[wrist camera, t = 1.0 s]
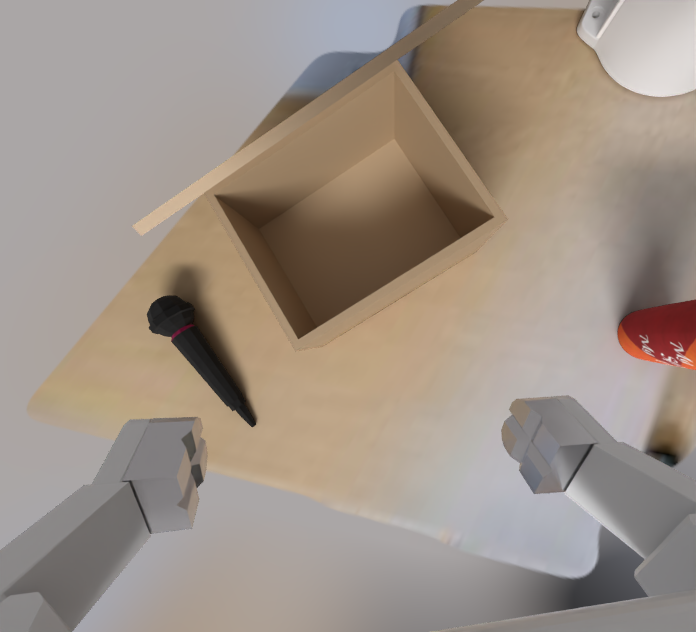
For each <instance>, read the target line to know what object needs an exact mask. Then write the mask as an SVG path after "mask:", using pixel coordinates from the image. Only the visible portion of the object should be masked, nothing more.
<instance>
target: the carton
mask: <svg viewBox="0 0 696 632" xmlns="http://www.w3.org/2000/svg"><path fill="white" fill-rule="evenodd" d="M204 194H205V196H206V198H207V200H208V201H209V203H210V205H211V207H212V208H213V210H214V212H215V213H216V215H217V217H218V219H219V220H220V222H221V224H222V226H223V227H224V229H225V231H226V232H227V234H228V236H229V238H230V239H231V241H232V243H233V245H234V246H235V248H236V250H237V251H238V253H239V255H240V257H241V258H242V260H243V262H244V264H245V265H246V267H247V269H248V270H249V272H250V274H251V276H252V277H253V279H254V281H255V283H256V284H257V286H258V288H259V289H260V291H261V293H262V295H263V296H264V298H265V300H266V302H267V303H268V305H269V307H270V308H271V310H272V312H273V314H274V315H275V317H276V319H277V321H278V322H279V324H280V326H281V327H282V329H283V331H284V333H285V334H286V336H287V338H288V340H289V341H290V343H291V345H292V346H293V348H294V350H295V351H301V350H306V349H312V348H317V347H323V346H324V345H326V344H327V343H329V342H331V341H332V340H334V339H336V338H337V337H339V336H340V335H342V334H344V333H345V332H347V331H348V330H350V329H352V328H353V327H355V326H357V325H358V324H360V323H361V322H363V321H365V320H366V319H368V318H370V317H371V316H373V315H374V314H376V313H378V312H379V311H381V310H383V309H384V308H386V307H387V306H389V305H391V304H392V303H394V302H396V301H397V300H399V299H400V298H402V297H404V296H405V295H407V294H409V293H410V292H412V291H413V290H415V289H417V288H418V287H420V286H422V285H423V284H425V283H426V282H428V281H430V280H431V279H433V278H434V277H436V276H438V275H439V274H441V273H443V272H444V271H446V270H447V269H449V268H451V267H452V266H454V265H456V264H457V263H459V262H460V261H462V260H464V259H465V258H467V257H469V256H470V255H472V254H473V253H475V252H476V251H477V250H478V249H479V248H480V247H481V246H482V245H483V244H484V243H485V242H486V241H487V240H488V239H489V238H490V237H491V236H492V235H493V234H494V233H495V232H496V231H497V230H498V229H499V228H500V227H501V226H502V225H503V224H504V223H505V222H506V221H507V220H508V218H507V217H506V215H505V214H504V213H503V211H502V210H501V208H500V207H499V205H498V204H497V202H496V201H495V200H494V198H493V197H492V195H491V194H490V192H489V191H488V189H487V188H486V187H485V185H484V184H483V182H482V181H481V179H480V178H479V177H478V175H477V174H476V172H475V171H474V169H473V168H472V166H471V165H470V164H469V162H468V161H467V159H466V158H465V156H464V155H463V153H462V152H461V151H460V149H459V148H458V146H457V145H456V143H455V142H454V141H453V139H452V138H451V136H450V135H449V133H448V132H447V130H446V129H445V128H444V126H443V125H442V123H441V122H440V120H439V119H438V117H437V116H436V115H435V113H434V112H433V110H432V109H431V107H430V106H429V104H428V103H427V102H426V100H425V99H424V97H423V96H422V94H421V93H420V92H419V90H418V89H417V87H416V86H415V84H414V83H413V81H412V80H411V79H410V77H409V76H408V74H407V73H406V71H405V70H404V68H403V67H402V66H401V64H400V63H399V61H398V60H396V61H395V62H393V63H392V64H390V65H389V66H388V67H386V68H385V69H383V70H382V71H380V72H379V73H377V74H376V75H374V76H373V77H372V78H370V79H369V80H367V81H366V82H364V83H363V84H361V85H360V86H358V87H357V88H356V89H354V90H353V91H351V92H350V93H348V94H347V95H345V96H344V97H342V98H341V99H340V100H338V101H337V102H335V103H334V104H332V105H331V106H329V107H328V108H326V109H325V110H324V111H322V112H321V113H319V114H318V115H316V116H315V117H313V118H312V119H311V120H309V121H308V122H306V123H305V124H303V125H302V126H300V127H299V128H297V129H296V130H295V131H293V132H292V133H290V134H289V135H287V136H286V137H284V138H283V139H281V140H280V141H279V142H277V143H276V144H274V145H273V146H271V147H270V148H268V149H267V150H265V151H264V152H263V153H261V154H260V155H258V156H257V157H255V158H254V159H252V160H251V161H249V162H248V163H247V164H245V165H244V166H242V167H241V168H239V169H238V170H236V171H235V172H234V173H232V174H231V175H229V176H228V177H226V178H225V179H223V180H222V181H220V182H219V183H218V184H216V185H215V186H213V187H212V188H210V189H209V190H207V191H206V192H204Z"/></svg>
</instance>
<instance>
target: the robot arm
mask: <svg viewBox="0 0 696 632" xmlns="http://www.w3.org/2000/svg"><path fill="white" fill-rule="evenodd" d="M593 17H595V18H593ZM577 33H578V35H579V37H580V38H581V39H582V40H583V41H584V42H586V43H587V44H588V45H589V46H591V47H592V48H593V49H594V50H595V52H596V53H597V55H598V57H599V59H600V62H601V64H602V65H603V67H604V69H605V70H606V72H607V73H608V74H609V75H610V76H611V77H612V78H613V79H614V80H615V81H616V82H617V83H619V84H620V85H622V86H623V87H625V88H627V89H629V90H631V91H633V92H636V93H639V94H643V95H648V96H656V97H667V96H675V95H680V94H684V93H687V92H690V91H693V90H695V89H696V0H589V2H588V5H587V7H586V9H585V11H584V13H583V16H582V18H581V20H580V22H579V24H578V27H577ZM509 410H510V412H511V414H512V415H511V416H510V417H509V418H508V419H507V420H505V421H504V424H503V427H502V430H501V432H502V441H503V444H504V447H505V449H506V450H507V452H508V454H509V455H510V456H511V457H512V458H513V459H515V460H516V461H518V462H519V463H520V467H519V471H520V473H521V474H522V476H523V478H524V479H525V481H526V482H527V484H528V485H529V487H530V488H531V490H532V492H533V493H534V494H540V493H555V492H565V493H564V494H565V495H566V496H568V497H569V498H570V499H571V500H573V501H574V502H575V503H576V504H578V505H579V506H580V507H581V508H582V509H584V510H585V511H586V512H587V513H589V514H590V515H591V516H592V517H594V518H595V519H596V520H597V521H599V522H600V523H601V524H602V525H603V526H605V527H606V528H607V529H608V530H610V531H611V532H612V533H613V534H615V535H616V536H617V537H619V539H621V540H622V541H623V542H624V543H626V544H627V545H628V546H629V547H631V548H632V549H633V550H634V551H636V552H637V553H638V554H639V555H640V556H642V557H643V558H644V559H645V561H644V562H643V563H642V564H641V565H640V566H639V567H638V568H637V569H636V570H635V576H634V577H635V579H636V580H637V581H638V583H639V584H640V585H641V587H642V588H643V589H644V591H645V592H646V593H647V595H648V596H649V597H646V598H640V599H633V600H627V601H621V602H615V603H608V604H602V605H595V606H589V607H583V608H576V609H570V610H564V611H558V612H551V613H545V614H538V615H533V616H526V617H520V618H514V619H507V620H501V621H494V622H488V623H482V624H476V625H469V626H463V627H457V628H451V629H444V630H438V631H431V632H696V480H694V479H692V478H690V477H688V476H686V475H684V474H682V473H681V472H679V471H677V470H675V469H673V468H671V467H669V466H667V465H665V464H663V463H662V462H660V461H658V460H656V459H654V458H652V457H650V456H648V455H646V454H645V453H643V452H641V451H639V450H637V449H635V448H633V447H631V446H629V445H627V444H626V443H624V442H617V441H616V440H615V439H614V438H613V437H612V436H611V435H610V434H609V433H608V432H607V431H606V430H605V429H604V428H603V427H602V426H601V425H600V424H599V423H598V422H597V421H596V420H595V419H594V418H593V417H592V416H591V415H590V414H589V413H588V412H587V411H586V410H585V409H584V408H583V407H582V406H581V405H580V404H579V403H578V402H577V401H576V400H575V399H574V398H572V397H570V396H554V397H539V398H524V399H516V400H515V401H514V402H512V404H511V406H510V409H509ZM202 429H203V427H202V423H201V419H200V418H199V417H183V418H153V419H133V420H129V421H128V422H127V423H126V424H125V425H124V426H123V428H122V429H121V431H120V433H119V435H118V437H117V439H116V440H115V442H114V444H113V446H112V448H111V450H110V452H109V453H108V455H107V457H106V459H105V461H104V463H103V464H102V466H101V468H100V470H99V472H98V474H97V475H96V477H95V479H94V481H93V483H92V484H91V485H83V486H82V487H81V488H80V489H79V490H77V491H76V492H74V493H73V494H72V495H71V496H69V497H68V498H67V499H65V500H64V501H63V502H62V503H61V504H59V505H58V506H56V507H55V508H54V509H53V510H51V511H50V512H49V513H47V514H46V515H45V516H44V517H42V518H41V519H40V520H38V521H37V522H36V523H35V524H33V525H32V526H31V527H29V528H28V529H27V530H26V531H24V532H23V533H22V534H21V535H19V536H18V537H17V538H15V539H14V540H13V541H11V542H10V543H9V544H8V545H6V546H5V547H4V548H2V549H1V550H0V632H72V631H73V630H74V629H75V628H76V627H77V625H78V624H79V623H80V622H81V620H82V619H83V618H84V617H85V616H86V614H87V613H88V612H89V611H90V610H91V608H92V607H93V606H94V605H95V603H96V602H97V601H98V600H99V599H100V597H101V596H102V595H103V594H104V593H105V591H106V590H107V589H108V588H109V586H110V585H111V584H112V583H113V582H114V580H115V579H116V578H117V577H118V576H119V574H120V573H121V572H122V571H123V569H124V568H125V567H126V566H127V565H128V563H129V562H130V561H131V560H132V559H133V557H134V556H135V555H136V554H137V552H138V551H139V550H140V549H141V548H142V546H143V545H144V544H145V543H146V542H147V540H148V539H149V538H150V536H151V535H150V534H153V533H161V532H169V531H176V530H183V529H192V527H193V523H194V519H195V515H196V511H197V506H198V502H199V497H198V492H197V488H198V486H200V484H201V483H202V482H203V481H204V477H205V473H206V466H207V446H206V441H205V440H204V439H202V438H201V433H202Z"/></svg>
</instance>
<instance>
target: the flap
mask: <svg viewBox="0 0 696 632" xmlns="http://www.w3.org/2000/svg"><path fill="white" fill-rule="evenodd" d="M482 1H483V0H457V1H456V2H454V3H453V4H451V5H450V6H449V7H447V8H446V9H444V10H443V11H441V12H440V13H438V14H437V15H436V16H434V17H433V18H431V19H430V20H428V21H427V22H425V23H424V24H423V25H421V26H420V27H418V28H417V29H415V30H414V31H413V32H411V33H410V34H408V35H407V36H405V37H404V38H402V39H401V40H400V41H398V42H397V43H395V44H394V45H392V46H391V47H389V48H388V49H387V50H385V51H384V52H382V53H381V54H379V55H378V56H376V57H375V58H374V59H372V60H371V61H369V62H368V63H366V64H365V65H363V66H362V67H361V68H359V69H358V70H356V71H355V72H353V73H352V74H351V75H349V76H348V77H346V78H345V79H343V80H342V81H340V82H339V83H338V84H336V85H335V86H333V87H332V88H330V89H329V90H327V91H326V92H325V93H323V94H322V95H320V96H319V97H317V98H316V99H314V100H313V101H312V102H310V103H309V104H307V105H306V106H304V107H303V108H301V109H300V110H299V111H297V112H296V113H294V114H293V115H291V116H290V117H289V118H287V119H286V120H284V121H283V122H281V123H280V124H278V125H277V126H276V127H274V128H273V129H271V130H270V131H268V132H267V133H265V134H264V135H263V136H261V137H260V138H258V139H257V140H255V141H254V142H252V143H251V144H250V145H248V146H247V147H245V148H244V149H242V150H241V151H239V152H238V153H237V154H235V155H234V156H232V157H231V158H229V159H228V160H227V161H225V162H224V163H222V164H221V165H219V166H218V167H216V168H215V169H214V170H212V171H211V172H209V173H208V174H207V175H205V176H204V177H202V178H201V179H199V180H198V181H196V182H195V183H193V184H192V185H190V186H189V187H188V188H186V189H185V190H183V191H182V192H180V193H179V194H178V195H176V196H175V197H173V198H172V199H171V200H169V201H167V202H166V203H165V204H163V205H162V206H160V207H159V208H157V209H156V210H154V211H153V212H152V213H150V214H149V215H147V216H146V217H145V218H143V219H141V220H140V221H139V222H137V223H136V224H134V225H133V226H132V227H133V228H134V229H135V230H136V231H137V232H138V233H139V234H140V235H141V236H142V235H143V234H145V233H146V232H148V231H149V230H151V229H152V228H154V227H155V226H156V225H158V224H159V223H161V222H162V221H164V220H165V219H167V218H168V217H169V216H171V215H172V214H174V213H175V212H177V211H178V210H180V209H181V208H183V207H184V206H186V205H187V204H188V203H190V202H191V201H193V200H194V199H196V198H197V197H199V196H200V195H202V194H203V193H204V192H206V191H207V190H209V189H210V188H212V187H213V186H215V185H216V184H218V183H219V182H220V181H222V180H223V179H225V178H226V177H228V176H229V175H231V174H232V173H234V172H235V171H236V170H238V169H239V168H241V167H242V166H244V165H245V164H247V163H248V162H249V161H251V160H252V159H254V158H255V157H257V156H258V155H260V154H261V153H263V152H264V151H265V150H267V149H268V148H270V147H271V146H273V145H274V144H276V143H277V142H279V141H280V140H281V139H283V138H284V137H286V136H287V135H289V134H290V133H292V132H293V131H295V130H296V129H297V128H299V127H300V126H302V125H303V124H305V123H306V122H308V121H309V120H311V119H312V118H313V117H315V116H316V115H318V114H319V113H321V112H322V111H324V110H325V109H326V108H328V107H329V106H331V105H332V104H334V103H335V102H337V101H338V100H340V99H341V98H342V97H344V96H345V95H347V94H348V93H350V92H351V91H353V90H354V89H356V88H357V87H358V86H360V85H361V84H363V83H364V82H366V81H367V80H369V79H370V78H372V77H373V76H374V75H376V74H377V73H379V72H380V71H382V70H383V69H385V68H386V67H388V66H389V65H390V64H392V63H393V62H395V61H396V60H398V59H399V58H401V57H402V56H403V55H405V54H406V53H408V52H409V51H411V50H412V49H414V48H415V47H417V46H418V45H419V44H421V43H422V42H424V41H425V40H427V39H428V38H430V37H431V36H433V35H434V34H435V33H437V32H438V31H440V30H441V29H443V28H444V27H446V26H447V25H449V24H450V23H451V22H453V21H454V20H456V19H457V18H459V17H460V16H462V15H463V14H465V13H466V12H467V11H469V10H470V9H472V8H473V7H475V6H476V5H478V4H479V3H480V2H482Z"/></svg>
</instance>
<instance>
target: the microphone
mask: <svg viewBox="0 0 696 632" xmlns="http://www.w3.org/2000/svg"><path fill="white" fill-rule="evenodd" d="M194 310H195V309H194V307H193V306H192V304H190V303H189V302H187V303H186V302H185V301H183V300H182V299H180V298H179V297H177V296H163V297H161V298H159V299H157V300H156V301H154V302H153V303H152V304H151V306H150V308H149V311H148V313H147V317H148V321H149V323H150V326H149V329H150V330H151V331H152V333H155V334H161V335H163V336H167V337H172V340H171V341H172V343H173V344H174V345H175V346H176V347H177V348H178V350H179V351H180V352H181V353H182V354H183V355H184V357H185V358H186V359H187V360H188V361H189V362H190V364H191V365H192V366H193V367H194V368H195V369H196V371H197V372H198V373H199V374H200V375H201V376H202V378H203V379H204V380H205V381H206V382H207V383H208V385H209V386H210V387H211V388H212V389H213V390H214V392H215V393H216V394H217V395H218V396H219V397H220V399H221V400H222V401H223V402H224V403H225V404H226V406H227V407H228V406H229V407H230V409H231V410H232V411H234V410H236V411H237V413H238V414H239V415H240V416H241V417H242V418H243V419H244V420H245V421H246V422H247V423H248V424H249V425H250V426H251V427H254V426H255V425H256V423H255V421H254V419H253V418H252V416H251V414H250V412H249V410H248V409H247V407H246V406H245V404H244V402H246V401H245V399H244V398H243V397H242V393H241V392H240V390H239V389H238V387H237V386H236V384H235V383H234V381H233V380H232V378H231V377H230V375H229V374H228V372H227V371H226V369H225V368H224V366H223V365H222V363H221V362H220V360H219V359H218V357H217V356H216V354H215V353H214V351H213V350H212V348H211V347H210V345H209V344H208V342H207V341H206V339H205V338H204V336H203V335H202V333H201V332H200V330H199V329H198V327H197V326H195V325H192V323H193V320H194V313H193V312H194Z"/></svg>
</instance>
